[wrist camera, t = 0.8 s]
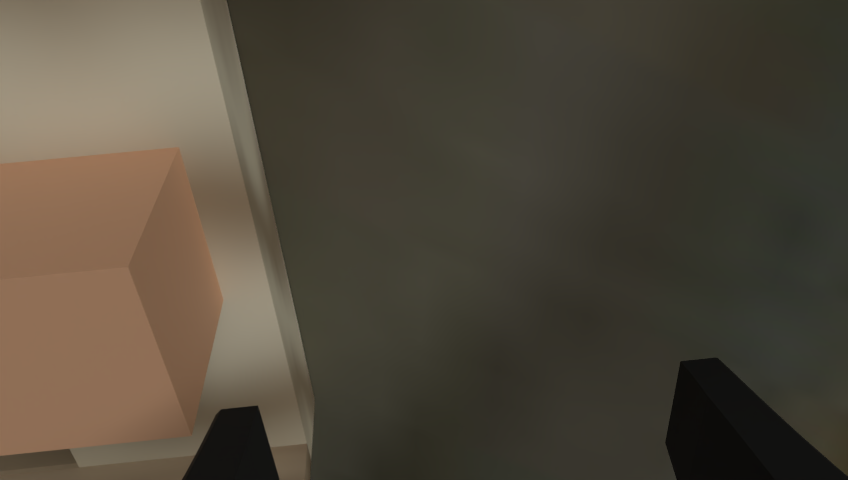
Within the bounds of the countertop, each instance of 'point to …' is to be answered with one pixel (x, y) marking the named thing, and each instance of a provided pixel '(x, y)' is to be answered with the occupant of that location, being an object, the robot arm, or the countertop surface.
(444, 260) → the countertop surface
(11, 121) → the mottled shallow tray
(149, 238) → the block
